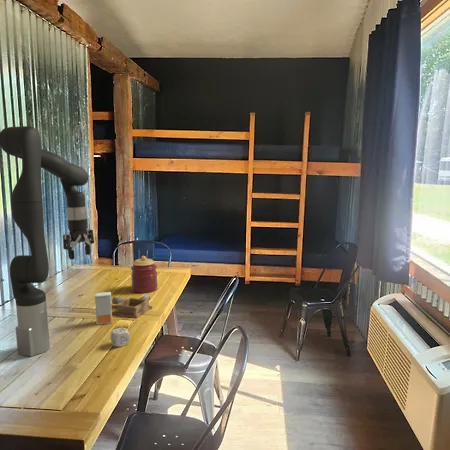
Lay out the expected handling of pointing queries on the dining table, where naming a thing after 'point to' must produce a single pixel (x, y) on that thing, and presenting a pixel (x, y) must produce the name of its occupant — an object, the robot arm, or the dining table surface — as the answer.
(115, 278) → the dining table surface
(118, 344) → the die
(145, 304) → the block
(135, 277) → the canister
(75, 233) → the robot arm
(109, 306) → the skincare box
